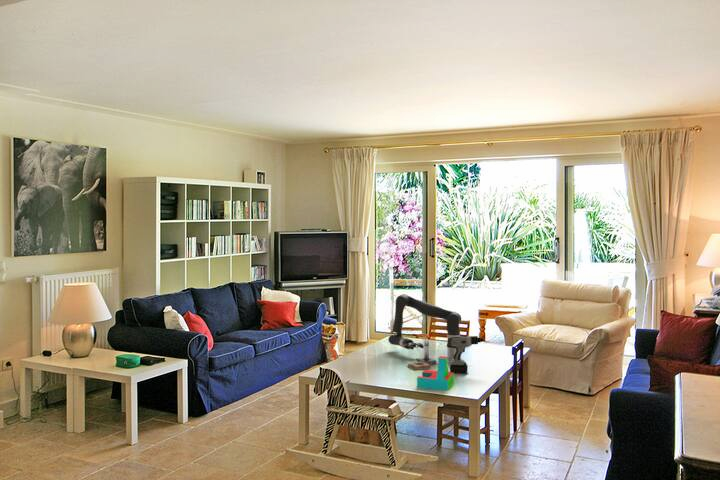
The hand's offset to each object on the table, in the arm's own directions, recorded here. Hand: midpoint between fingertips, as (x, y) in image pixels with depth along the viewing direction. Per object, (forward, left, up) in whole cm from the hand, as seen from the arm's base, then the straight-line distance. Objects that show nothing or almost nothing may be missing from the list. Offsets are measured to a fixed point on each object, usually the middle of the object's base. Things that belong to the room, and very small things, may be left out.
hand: (418, 347), depth 445 cm
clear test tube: (0, +11, -9) cm, 14 cm away
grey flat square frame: (0, +11, -9) cm, 14 cm away
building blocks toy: (+25, +60, -10) cm, 65 cm away
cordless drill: (-8, +45, -9) cm, 47 cm away
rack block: (+12, +20, -9) cm, 25 cm away
